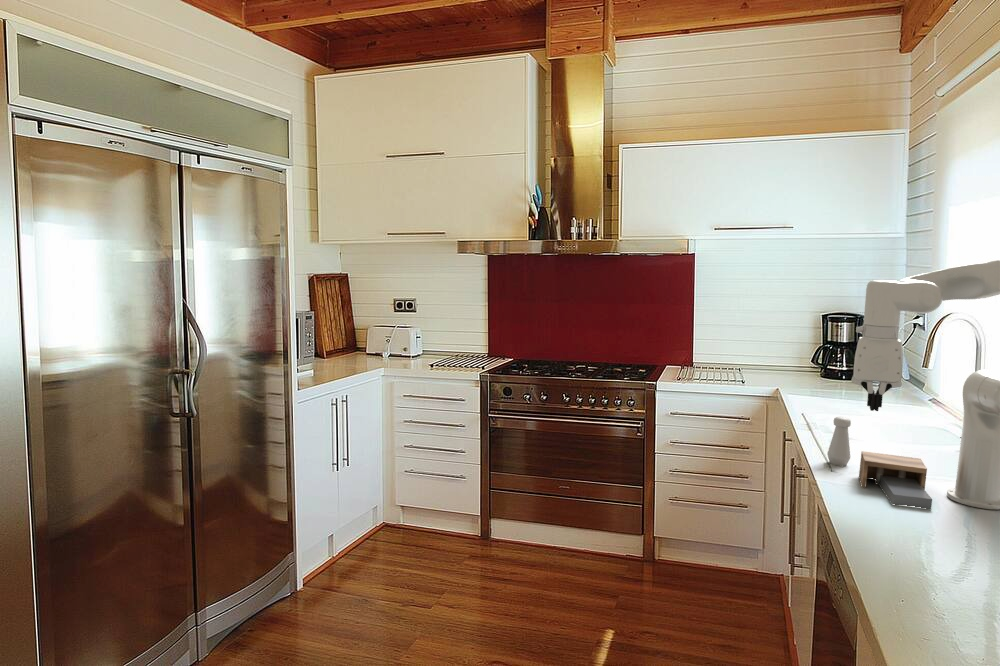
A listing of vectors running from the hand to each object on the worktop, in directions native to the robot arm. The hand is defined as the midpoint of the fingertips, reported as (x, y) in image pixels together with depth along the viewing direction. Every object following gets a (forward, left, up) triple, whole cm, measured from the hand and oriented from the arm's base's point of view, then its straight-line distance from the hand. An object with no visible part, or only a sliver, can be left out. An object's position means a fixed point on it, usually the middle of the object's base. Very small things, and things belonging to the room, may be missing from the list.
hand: (874, 409), depth 182 cm
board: (-8, +4, -21) cm, 23 cm away
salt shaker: (-15, -22, -21) cm, 34 cm away
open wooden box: (-12, -3, -21) cm, 24 cm away
